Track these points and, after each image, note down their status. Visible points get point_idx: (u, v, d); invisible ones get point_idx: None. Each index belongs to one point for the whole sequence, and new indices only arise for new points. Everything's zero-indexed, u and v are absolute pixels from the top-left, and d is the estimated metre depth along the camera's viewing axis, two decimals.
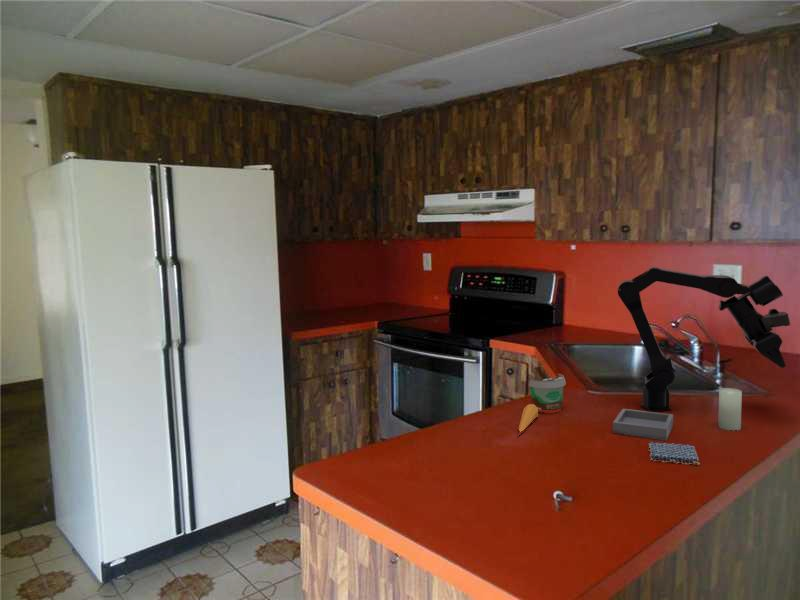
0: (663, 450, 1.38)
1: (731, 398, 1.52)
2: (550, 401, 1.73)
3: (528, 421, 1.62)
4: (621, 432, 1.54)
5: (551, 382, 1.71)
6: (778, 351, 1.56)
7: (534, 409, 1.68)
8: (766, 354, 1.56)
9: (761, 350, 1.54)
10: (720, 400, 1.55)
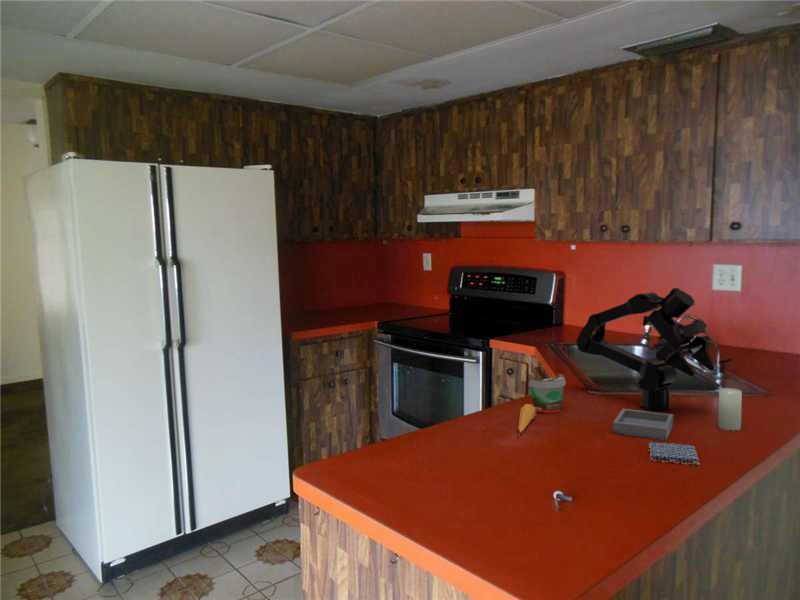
0: (663, 450, 1.38)
1: (731, 398, 1.52)
2: (550, 401, 1.73)
3: (526, 421, 1.62)
4: (621, 432, 1.54)
5: (551, 382, 1.71)
6: (681, 360, 1.59)
7: (531, 409, 1.68)
8: (672, 363, 1.61)
9: (659, 359, 1.61)
10: (720, 400, 1.55)
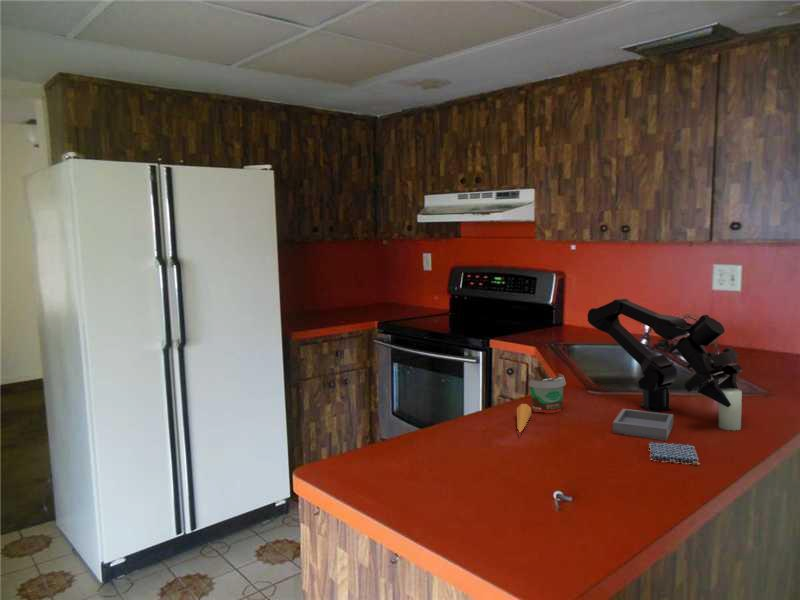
0: (663, 450, 1.38)
1: (731, 398, 1.52)
2: (550, 401, 1.73)
3: (525, 421, 1.62)
4: (621, 432, 1.54)
5: (551, 382, 1.71)
6: (716, 390, 1.53)
7: (528, 409, 1.68)
8: (706, 393, 1.55)
9: (688, 390, 1.55)
10: None
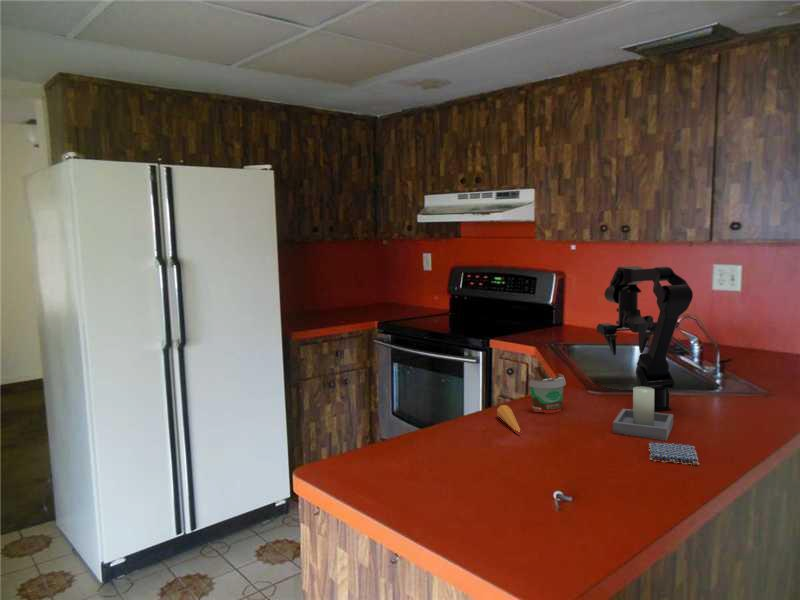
0: (663, 450, 1.38)
1: (634, 394, 1.56)
2: (550, 401, 1.73)
3: (516, 422, 1.62)
4: (621, 432, 1.54)
5: (551, 382, 1.71)
6: (611, 341, 1.86)
7: (510, 409, 1.68)
8: (606, 337, 1.89)
9: None
10: None
